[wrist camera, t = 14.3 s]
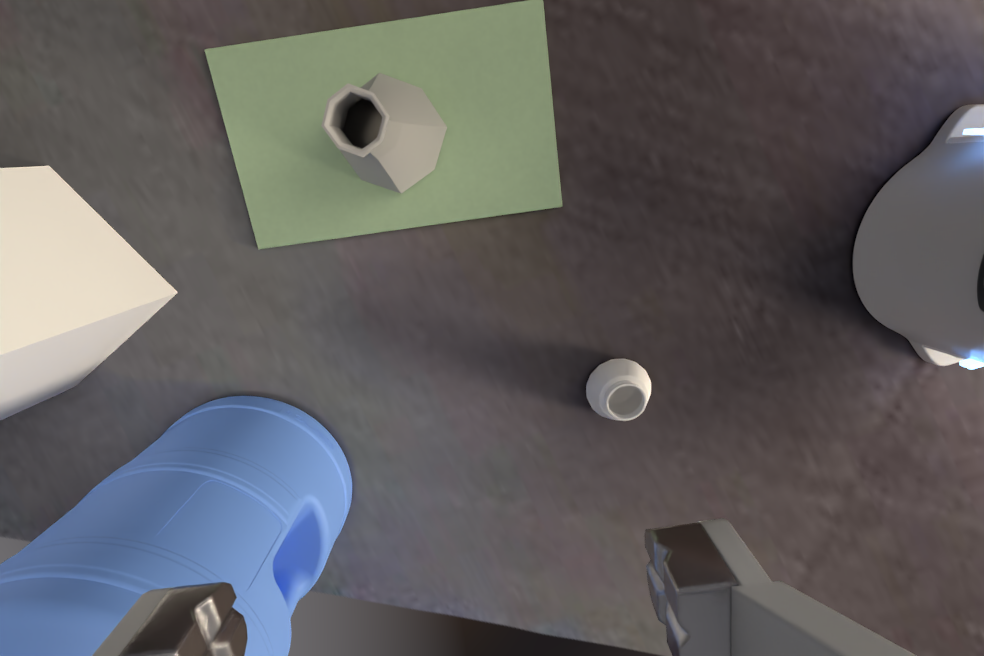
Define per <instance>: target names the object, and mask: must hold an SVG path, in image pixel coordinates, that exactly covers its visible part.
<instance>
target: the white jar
mask: <svg viewBox="0 0 984 656" xmlns="http://www.w3.org/2000/svg"><path fill="white" fill-rule="evenodd" d="M650 395H651V381H650V379H649V376H648V374H647V372H646V370H645V369H643V368H642V367H641V366H640V365H639V364H638V363H636V362H634V361H631V360H628V359H624V358H623V359H611V360H609V361H607V362H605V363H603V364H600V365H599V366H598V367H597V368H596V369H595V370H594V371H593V372H592V373H591V374H590V377H589V379H588V382H587V384H586V397H587V399H588V401H589V403H590V405H591V407H592V409H593V410H594V411H595V412H597V413H598V414H599V415H600V416H602V417H605V418H609V419H612V420H622V421H628V420H632V419H634V418H636V417H638V416H639V415H640V414H641V413H642V412H643V411H644V409H645V407H646V405H647V402H648V400H649V397H650Z"/></svg>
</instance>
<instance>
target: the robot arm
mask: <svg viewBox="0 0 984 656" xmlns="http://www.w3.org/2000/svg"><path fill="white" fill-rule="evenodd" d="M853 276H854V282H855V286H856V289H857V292H858V295H859V297H860V299H861V301H862V303H863V304H864V306H865V308H866V309H867V310H868V312H869V313H870V314H871V315H872V316H873V317H874V318H875V319H876V320H877V321H879V322H880V323H881V324H883V325H884V326H886V327H887V328H889V329H891V330H893V331H895V332H897V333H899V334H901V335H902V336H904V337H905V338H907V339H908V340H909V342H910V343H911V345H912V346H913V348H914V349H915V351H916V352H917V354H918V355H919V356H920V357H921V358H922V359H923V360H924V361H926V362H928V363H931V364H935V365H938V366H947V365H951V364H954V363H957V362H960V365H961V366H963V367H966V368H968V369H971V370H972V369H975V368H979V367H983V366H984V104H974V105H965V106H962V107H960V108H958V109H957V110H956V111H954V112H953V113H952V114H951V116H950V117H949V118H948V119H947V120H946V122H945V123H944V124H943V126H942V127H941V129H940V130H939V132H938V133H937V135H936V136H935V138H934V139H933V141H932V142H931V144H930V145H929V146H928V147H927V148H926V149H925V150H924V151H923V152H922V153H921V154H919V155H918V156H917V157H916V158H914V159H913V160H912V161H910V162H909V163H908V164H906V165H905V166H904V167H903V168H901V169H900V170H899V171H898V172H897V173H896V174H895V175H894V176H893V177H892V178H891V179H890V180H889V181H888V182H887V183H886V184H885V185H884V186H883V188H882V189H881V190H880V191H879V193H878V194H877V195H876V197H875V198H874V200H873V201H872V203H871V204H870V206H869V208H868V210H867V211H866V213H865V215H864V217H863V220H862V222H861V224H860V227H859V230H858V233H857V236H856V240H855V245H854V251H853ZM645 548H646V550H647V553H648V555H649V557H650V561H649V563H648V564H647V566H646V569H647V580H648V586H649V591H650V596H651V600H652V603H653V606H654V609H655V612H656V615H657V617H658V620H659V621H660V622H662V623H663V624H664V625H666V632H667V643H668V645H669V648H670V650H671V653H672V655H673V656H916V655H914V654H913V653H911V652H909V651H907V650H905V649H903V648H902V647H900V646H898V645H896V644H894V643H893V642H891V641H889V640H887V639H885V638H883V637H882V636H880V635H878V634H876V633H874V632H873V631H871V630H869V629H867V628H865V627H863V626H862V625H860V624H858V623H856V622H854V621H853V620H851V619H849V618H847V617H845V616H843V615H842V614H840V613H838V612H836V611H834V610H833V609H831V608H829V607H827V606H825V605H823V604H822V603H820V602H818V601H816V600H814V599H813V598H811V597H809V596H807V595H805V594H803V593H802V592H800V591H798V590H796V589H794V588H793V587H791V586H789V585H787V584H785V583H783V582H782V581H774V582H772V581H771V580H770V578H769V577H768V575H767V574H766V573H765V571H764V570H763V568H762V567H761V566H760V564H759V563H758V561H757V560H756V559H755V557H754V556H753V554H752V553H751V552H750V550H749V549H748V547H747V546H746V545H745V543H744V542H743V540H742V539H741V538H740V536H739V535H738V533H737V532H736V531H735V529H734V528H733V527H732V525H731V524H730V522H729V521H728V520H726V519H724V518H720V519H713V520H707V521H700V522H697V523H690V524H682V525H675V526H667V527H659V528H652V529H646V530H645ZM236 598H237V597H236V594H235V592H234V590H233V587H232V585H231V584H230V583H226V582H217V583H207V584H197V585H187V586H177V587H173V588H162V589H152V590H150V591H148V592H146V593H144V594H142V595H141V597H140V598H139V599H138V600H137V602H136V603H135V604H134V605H133V606H132V608H131V609H130V610H129V611H128V612H127V614H126V615H125V616H124V617H123V619H122V620H121V621H120V622H119V623H118V625H117V626H116V627H115V628H114V630H113V631H112V632H111V633H110V634H109V636H108V637H107V638H106V639H105V640H104V642H103V643H102V644H101V645H100V647H99V648H98V649H97V650H96V651H95V653H94V654H93V655H92V656H244V655H245V650H246V644H247V639H248V637H247V625H246V622H245V619H244V616H243V615H242V614H240V613H239V612H238V611H237V610H235V609H234V608H233V605H234V602H235V600H236Z"/></svg>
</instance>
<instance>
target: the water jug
mask: <svg viewBox="0 0 984 656" xmlns="http://www.w3.org/2000/svg"><path fill="white" fill-rule="evenodd" d="M351 499H352V479H351V473H350V469H349V466H348V463H347V460H346V458H345V455H344V453H343V451H342V450H341V448H340V446H339V445H338V443H337V442H336V440H335V439H334V438H333V436H332V435H331V434H330V433H329V432H328V431H327V430H326V429H325V428H324V427H323V426H322V425H321V424H320V423H319V422H318V421H316V420H315V419H314V418H313V417H311V416H310V415H308V414H307V413H305V412H303V411H302V410H300V409H298V408H296V407H294V406H291V405H289V404H287V403H284V402H281V401H278V400H274V399H270V398H265V397H258V396H232V397H225V398H220V399H216V400H213V401H210V402H207V403H205V404H202V405H200V406H198V407H196V408H194V409H193V410H191V411H190V412H188V413H187V414H185V415H184V416H183V417H181V418H180V419H179V420H178V421H176V422H175V423H174V424H173V425H171V426H170V427H169V428H168V429H167V430H166V431H165V432H164V433H163V434H162V436H161V437H160V438H159V439H157V440H156V441H155V442H154V443H153V444H151V445H150V446H149V447H148V448H146V449H145V450H144V451H143V452H141V453H140V454H139V455H138V456H137V457H135V458H134V459H133V460H132V461H130V462H128V463H127V464H125V465H123V466H122V467H120V468H119V469H117V470H116V471H114V472H113V473H112V474H110V475H109V476H108V477H107V478H105V479H104V480H103V481H102V482H101V483H99V484H98V485H97V486H96V487H94V488H93V489H92V490H91V491H90V492H89V493H88V494H87V495H86V496H85V497H84V498H83V499H82V500H81V501H80V502H79V503H78V504H77V505H76V506H75V507H74V508H73V509H71V510H70V511H69V512H68V513H66V514H65V515H64V516H63V517H61V518H60V519H59V520H58V521H57V522H55V523H54V524H53V525H52V526H50V527H49V528H48V529H47V530H45V531H44V532H43V533H42V534H41V535H39V536H38V537H37V538H36V539H34V540H33V541H32V542H31V543H29V544H28V545H27V546H26V547H25V548H24V549H22V550H21V551H20V552H18V553H17V554H16V555H14V556H12V557H11V558H9V559H7V560H6V561H4V562H3V563H2V564H0V656H92V655H93V654H94V653H95V651H96V650H97V649H98V648H99V647H100V645H101V644H102V643H103V642H104V640H105V639H106V638H107V637H108V636H109V634H110V633H111V632H112V631H113V630H114V628H115V627H116V626H117V625H118V623H119V622H120V621H121V620H122V619H123V617H124V616H125V615H126V614H127V612H128V611H129V610H130V609H131V608H132V606H133V605H134V604H135V603H136V602H137V600H138V599H139V598H140V597H141V595H142V594H144V593H146V592H148V591H150V590H152V589H162V588H173V587H177V586H187V585H197V584H207V583H217V582H226V583H230V584H231V585H232V587H233V590H234V592H235V594H236V597H237V598H236V600H235V602H234V605H233V608H234V609H235V610H237V611H238V612H239V613H240V614H242V615H243V616H244V619H245V622H246V625H247V637H248V639H247V644H246V650H245V655H244V656H288V653H289V649H290V644H291V622H290V618H291V616H292V613H293V611H294V609H295V607H296V604H297V602H298V601H299V600H300V599H301V598H302V597H304V596H305V595H306V594H307V593H308V592H309V590H310V589H311V588H312V587H313V586H314V584H315V583H316V581H317V580H318V578H319V577H320V575H321V573H322V571H323V569H324V566H325V564H326V561H327V559H328V557H329V554H330V552H331V549H332V547H333V544H334V542H335V540H336V538H337V537H338V535H339V533H340V532H341V529H342V527H343V525H344V522H345V520H346V517H347V515H348V512H349V508H350V504H351Z"/></svg>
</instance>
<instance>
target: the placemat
mask: <svg viewBox="0 0 984 656" xmlns="http://www.w3.org/2000/svg"><path fill="white" fill-rule="evenodd" d="M205 54H206V57H207V61H208V65H209V69H210V72H211V76H212V80H213V83H214V87H215V91H216V94H217V98H218V102H219V106H220V109H221V113H222V117H223V120H224V124H225V128H226V131H227V135H228V139H229V143H230V146H231V150H232V154H233V157H234V161H235V165H236V168H237V172H238V176H239V179H240V183H241V187H242V191H243V194H244V198H245V202H246V205H247V209H248V213H249V216H250V220H251V224H252V228H253V231H254V235H255V239H256V242H257V246H258V249H264V248H271V247H279V246H286V245H293V244H300V243H307V242H314V241H321V240H328V239H336V238H343V237H350V236H357V235H364V234H371V233H378V232H385V231H393V230H400V229H407V228H414V227H421V226H428V225H435V224H443V223H450V222H457V221H464V220H471V219H478V218H485V217H492V216H500V215H507V214H514V213H521V212H528V211H535V210H542V209H549V208H557V207H562V197H561V187H560V176H559V165H558V154H557V144H556V133H555V122H554V112H553V101H552V90H551V79H550V69H549V58H548V47H547V37H546V26H545V15H544V4H543V0H528V1H521V2H514V3H508V4H501V5H495V6H488V7H481V8H475V9H468V10H462V11H455V12H448V13H442V14H435V15H429V16H422V17H415V18H409V19H402V20H396V21H389V22H382V23H376V24H369V25H363V26H356V27H349V28H343V29H336V30H330V31H323V32H316V33H310V34H303V35H297V36H290V37H283V38H277V39H270V40H264V41H257V42H250V43H244V44H237V45H231V46H224V47H217V48H211V49H205ZM378 73H382V74H384V75H387V76H390V77H392V78H395V79H398V80H400V81H403V82H406V83H409V84H411V85H414V86H417V87H419V88H422V90H423V91H424V93H425V94H426V96H427V97H428V99H429V100H430V102H431V103H432V105H433V106H434V108H435V109H436V111H437V112H438V114H439V115H440V117H441V118H442V120H443V121H444V123H445V124H446V126H447V130H446V133H445V136H444V140H443V143H442V146H441V150H440V153H439V157H438V160H437V163H436V167H435V170H433V171H432V172H431V173H429V174H428V175H426V176H425V177H424V178H422V179H421V180H419V181H418V182H417V183H415V184H414V185H413V186H411V187H410V188H408V189H407V190H406V191H404V192H403V193H402V194H401V193H398V192H395V191H392V190H389V189H386V188H383V187H380V186H378V185H375V184H372V183H369V182H366V181H363V180H361V179H360V178H359V176H358V175H357V173H356V172H355V171H354V169H353V168H352V166H351V165H350V164H349V162H348V161H347V160H346V158H345V157H344V155H343V154H342V153H341V151H340V150H339V149H338V148H337V147H336V145H335V144H334V142H333V141H332V140H331V138H330V137H329V136H328V134H327V133H326V131H325V130H324V129H323V127H322V126H321V125H322V121H323V117H324V112H325V108H326V104H327V99H329V98H330V97H331V96H332V95H334V94H335V93H336V92H337V91H339V90H340V89H341V88H343V87H344V86H345V85H346V84H348V83H349V84H351V85H354V86H357V87H359V88H361V87H362V86H363V85H364V84H366V83H367V82H368V81H369V80H371V79H372V78H373V77H375V76H376V75H377V74H378Z"/></svg>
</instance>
